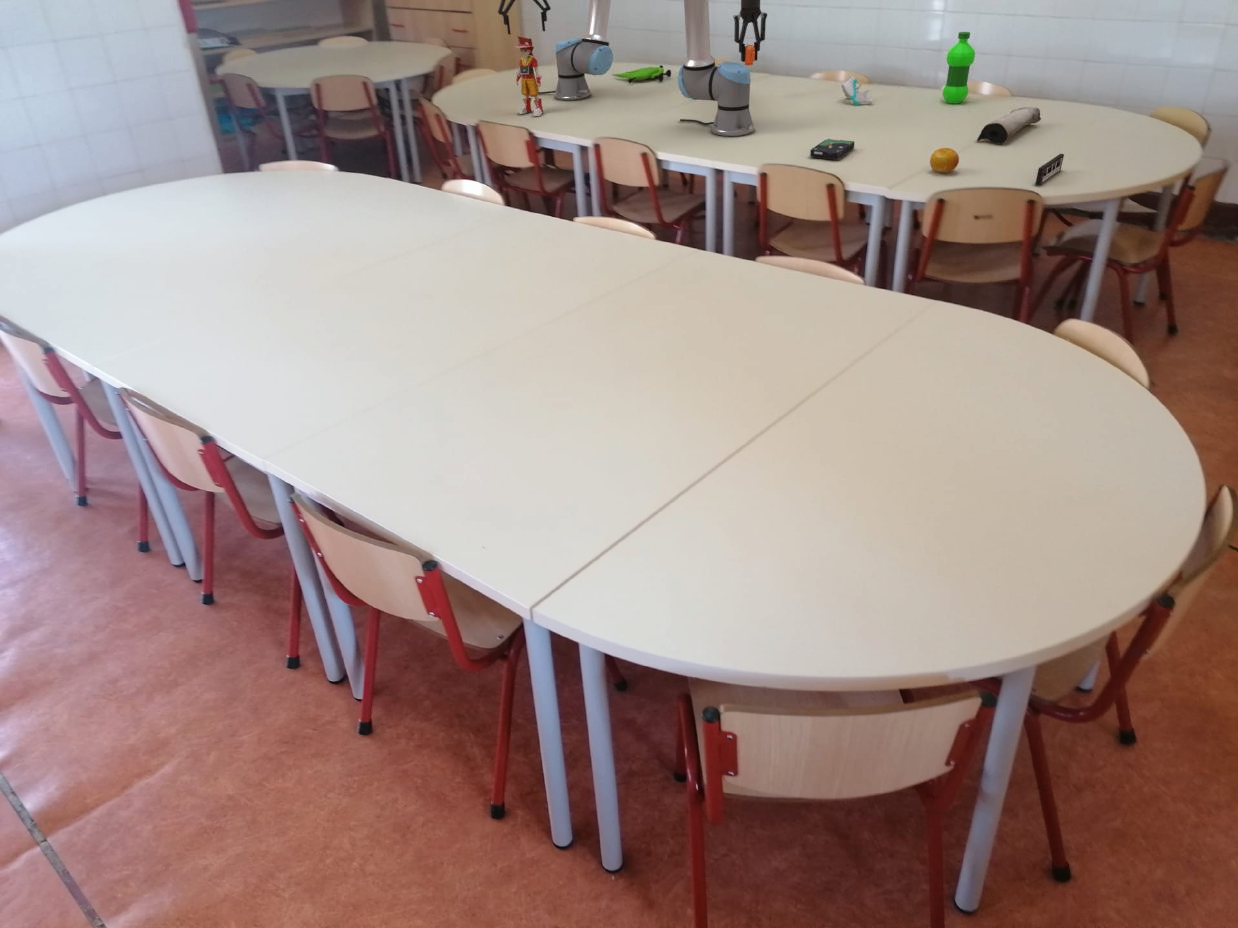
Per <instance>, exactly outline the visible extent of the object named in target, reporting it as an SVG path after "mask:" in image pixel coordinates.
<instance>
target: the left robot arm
mask: <svg viewBox="0 0 1238 928" xmlns="http://www.w3.org/2000/svg"><path fill="white" fill-rule="evenodd" d="M506 1H507V0H500V4H499V7H498V10H497V14H498V15H500V16H502V18H503V19H502V20H503V24H504V26H506V27H507V28H506V29H507V35H508V36H509V35H511V27H510V25H511V24H510V18H509V17H510V15H508V13H509V11H510V10H511V8H512V6H513V5H514V3H515V2H516V0H509V2H508V3H507V5H506V6H505V4H506ZM532 1H533V2H534V3H535V4H536V5H537V6H538V8H539V9H540V19H541V28H542V32H546V26H545V25H546V23H545V22H547V21H548V16H547V15H548V14H547V12H548V11H551V9H552V8H551V6H550V3H549V2H548V0H542V2H543V4H544V6H545V7H544V6H543V5H542V4H541V2H540V1H539V0H532ZM611 1H612V0H589V5H588V12H587V13H588V14H587V22H586V32H585V34H584V35H583V36H582V37H581V38H580V37H579V38H571V39H566V40H565V39H564V40H561V41H558V42H557V43H556V44H555V60H556V68H557V85H556V89H555V90H549V91H539V94H538V95H545V94H554V93H555V99H556V100H559V101H581V100H584V99H587V98H590V96H591V91H590V88H589V87H590V86H589V84H588V82H587V80H586V76H585V75H592V76H603V75H605V74H606V73H608V72H609V70H610V69H611V67H612V65H613V61H614V53H613V51H612V48H611V47H610V41H609V40H608V38H607V36H608V35H607V33H608V25H609V20H610V19H609V18H610V9H611ZM504 7H505V8H504Z"/></svg>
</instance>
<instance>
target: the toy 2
mask: <svg viewBox="0 0 1238 928" xmlns="http://www.w3.org/2000/svg"><path fill="white" fill-rule="evenodd" d="M611 76H613V77H617V78H621V79H627V80H628V81H627V82H628V83H629V84H631V83H633V81H635V80H638V81H642V80H646V79H647V80H648V79H657V80H658V81H659V82H663V80H664V76H666V77H667V78H671V77H672V70H671V69H668V70H666V72H665V69H664V65H659V66H647V67H641V68H638V69H634V70H630V71H625V72H622V73H621V72H620V73H612V74H611Z"/></svg>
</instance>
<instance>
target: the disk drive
mask: <svg viewBox="0 0 1238 928" xmlns="http://www.w3.org/2000/svg"><path fill="white" fill-rule="evenodd" d="M854 149H855V140H844V139H831V138H826V139H825V140H823V141H821V142H819V143H818V144H817V145H814V147H812V148H811V149H810V153H809V156H810V157H812V158H817V159H822V160H823V159H825V160H835V161H838V160H840V159H842V158H844V156H846V155H847V154H850V152H851V151H853V150H854Z"/></svg>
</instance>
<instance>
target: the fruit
mask: <svg viewBox="0 0 1238 928" xmlns="http://www.w3.org/2000/svg"><path fill="white" fill-rule="evenodd" d="M959 163H960V156H959V154H958V152H957V151H956V150H955V149H953V148H951V147H942V148H938V149H936V150H934V151H933V153H932V154H931V155H930V159H929V166H930V168H931V169H932V170H933V171H934V172H936V173H939V174H940V173H943V174H944V173H945V174H946V173H951V172H953V171H954V170H956V168H957V167H958V165H959Z"/></svg>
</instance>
